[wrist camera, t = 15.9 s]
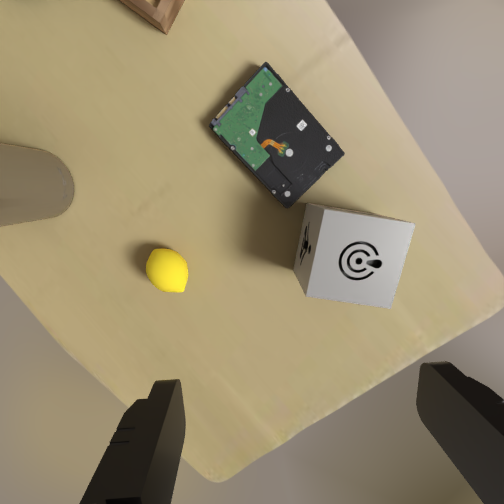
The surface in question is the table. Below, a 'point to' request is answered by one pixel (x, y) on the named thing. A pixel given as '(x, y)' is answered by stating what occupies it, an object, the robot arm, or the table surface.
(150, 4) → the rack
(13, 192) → the robot arm
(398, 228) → the icon cube
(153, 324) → the table surface
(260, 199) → the table surface
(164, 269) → the lemon
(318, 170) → the disk drive
